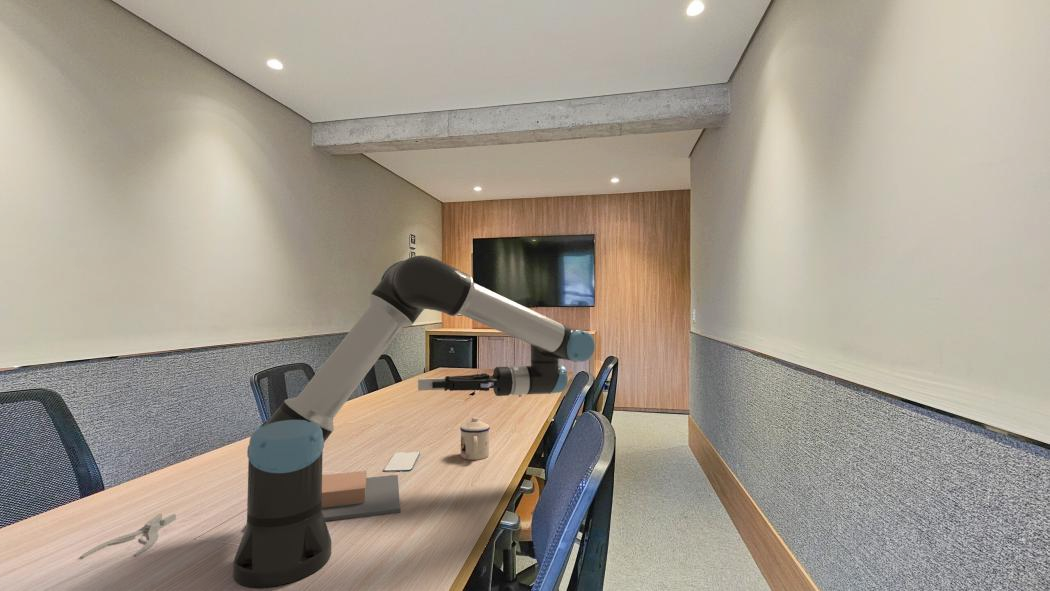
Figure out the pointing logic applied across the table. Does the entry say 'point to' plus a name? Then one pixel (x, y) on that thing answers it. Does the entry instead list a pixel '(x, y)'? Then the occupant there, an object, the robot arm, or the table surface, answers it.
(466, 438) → the teacup with lid
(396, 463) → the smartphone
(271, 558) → the robot arm
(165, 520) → the pliers
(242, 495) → the table surface
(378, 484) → the rubber mat
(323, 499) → the light wooden block
